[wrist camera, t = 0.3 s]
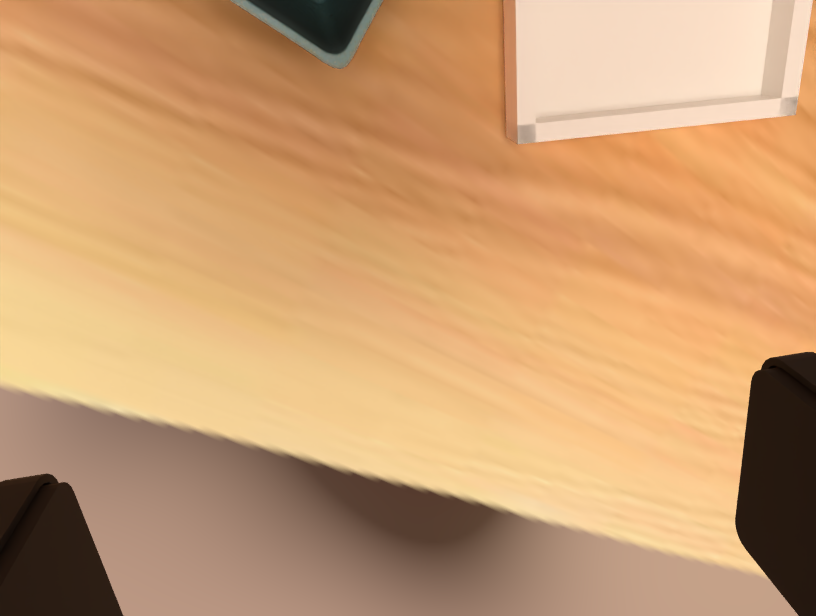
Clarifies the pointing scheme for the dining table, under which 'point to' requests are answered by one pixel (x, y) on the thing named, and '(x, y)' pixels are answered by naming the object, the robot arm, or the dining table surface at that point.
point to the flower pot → (318, 24)
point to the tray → (648, 64)
